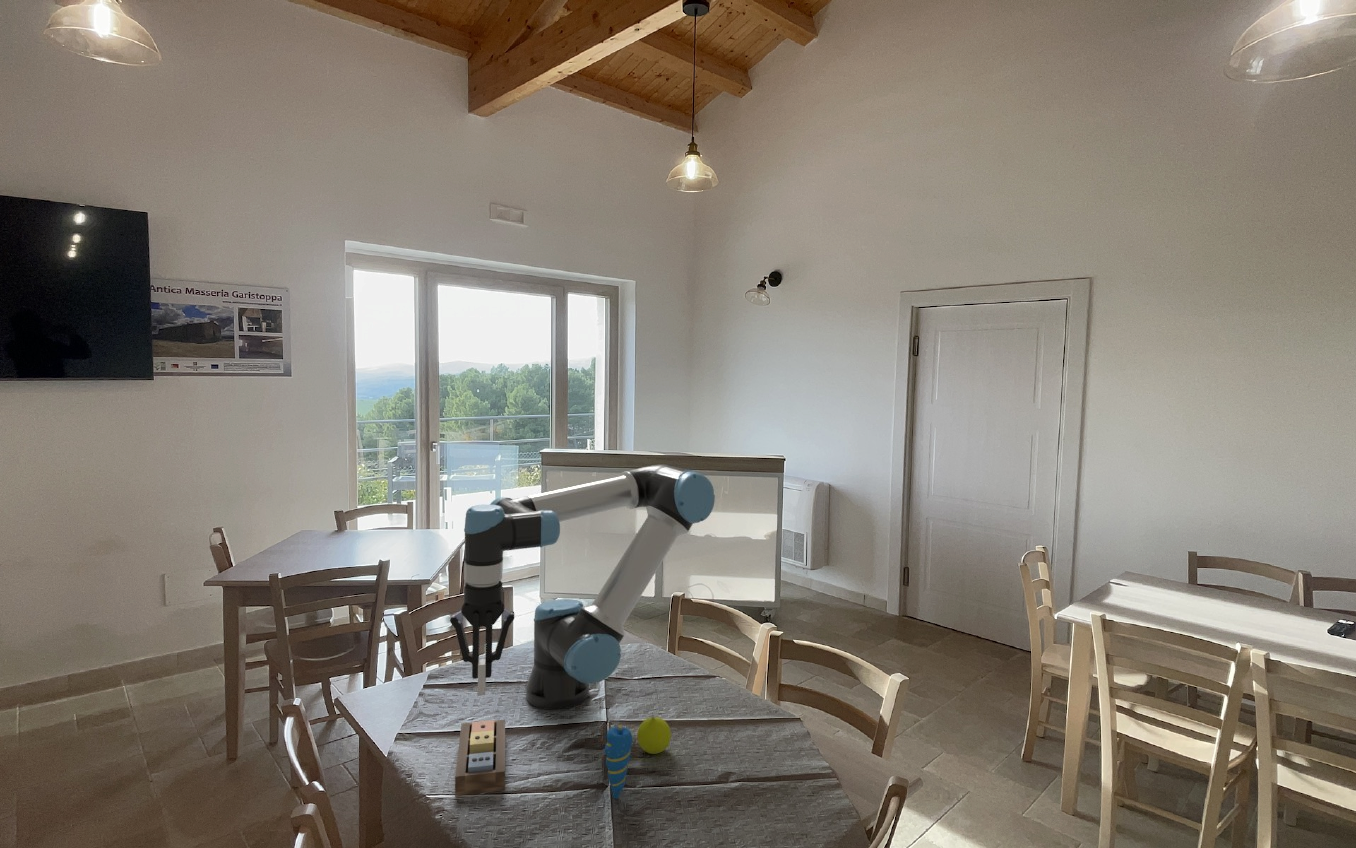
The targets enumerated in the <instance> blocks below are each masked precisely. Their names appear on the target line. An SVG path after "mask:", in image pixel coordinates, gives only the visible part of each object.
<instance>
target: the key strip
mask: <svg viewBox="0 0 1356 848" xmlns="http://www.w3.org/2000/svg"><path fill="white" fill-rule="evenodd" d="M493 720H494V751H493V770H491V771H482V772H473V773H468V764H469V754H470V737H471V731H472V722H463V723H461V726H460V733H459V734H460V735H459V742H458V750H457V752H458V753H457V760H456V765H455V766H456V767H455V775H454V786H455V787H454V790H455V791H454V796H455V797H458V796H465V795H467V796H469V795H474V794H475V795H477V794H485V793H492V792H494V793H495V792H501V791H506V719H498V720H496V719H493Z"/></svg>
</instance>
